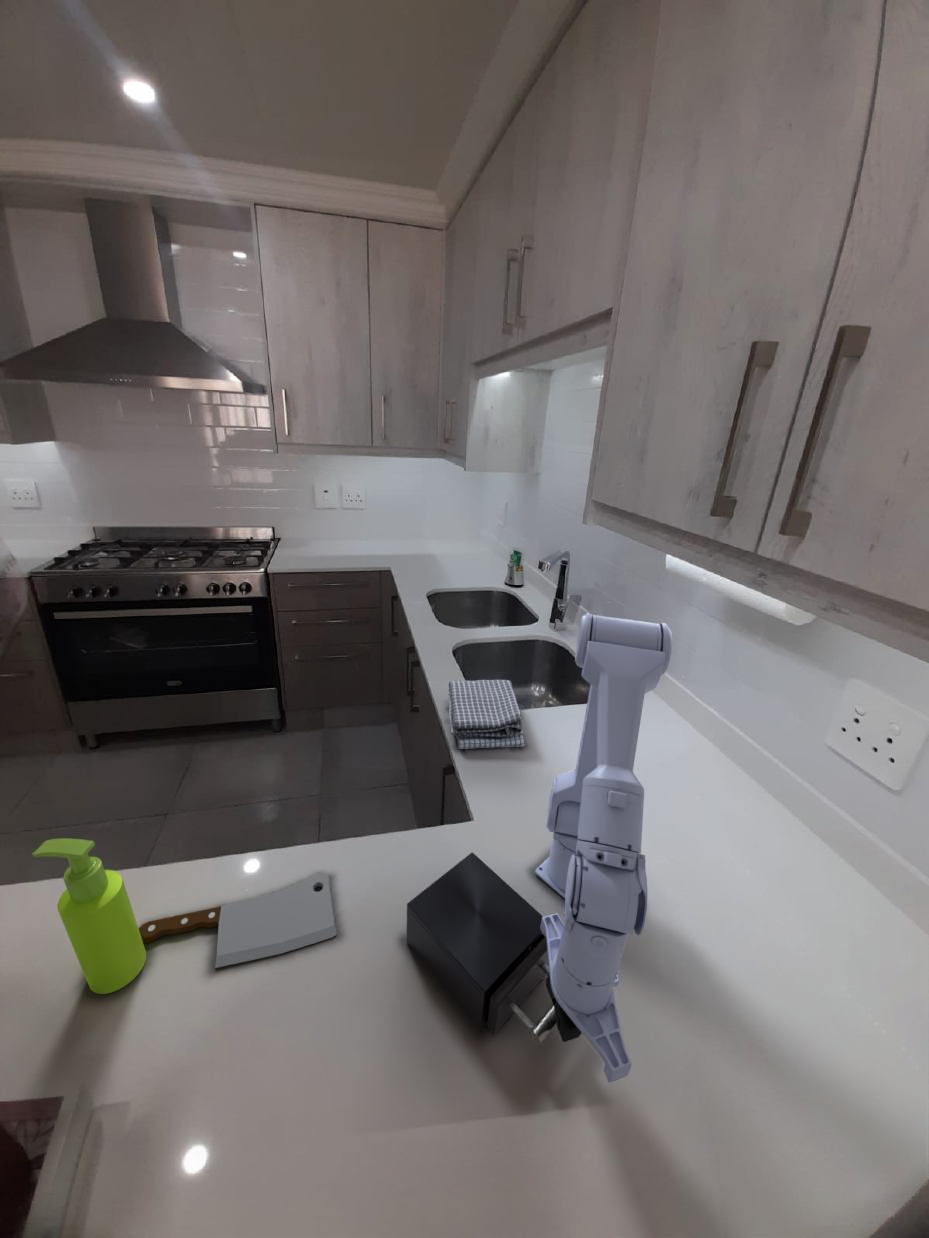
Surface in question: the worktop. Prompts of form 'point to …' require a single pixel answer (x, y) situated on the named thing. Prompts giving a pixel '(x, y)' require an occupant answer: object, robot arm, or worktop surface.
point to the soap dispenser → (97, 917)
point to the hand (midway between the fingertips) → (568, 1032)
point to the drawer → (521, 994)
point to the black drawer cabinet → (471, 932)
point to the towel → (485, 714)
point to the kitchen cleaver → (259, 922)
